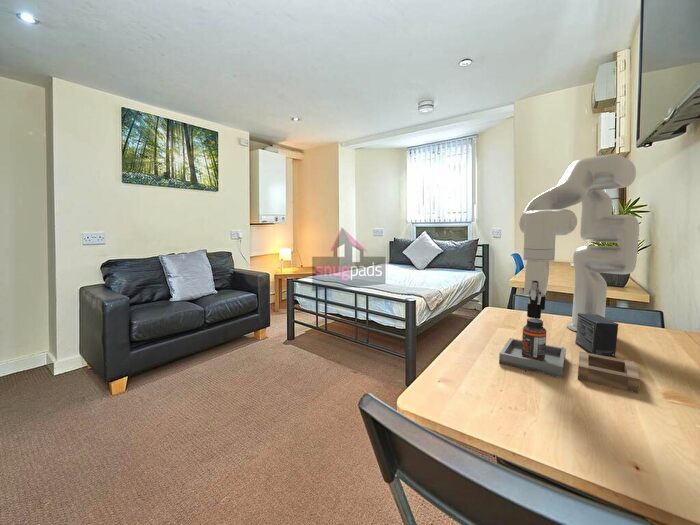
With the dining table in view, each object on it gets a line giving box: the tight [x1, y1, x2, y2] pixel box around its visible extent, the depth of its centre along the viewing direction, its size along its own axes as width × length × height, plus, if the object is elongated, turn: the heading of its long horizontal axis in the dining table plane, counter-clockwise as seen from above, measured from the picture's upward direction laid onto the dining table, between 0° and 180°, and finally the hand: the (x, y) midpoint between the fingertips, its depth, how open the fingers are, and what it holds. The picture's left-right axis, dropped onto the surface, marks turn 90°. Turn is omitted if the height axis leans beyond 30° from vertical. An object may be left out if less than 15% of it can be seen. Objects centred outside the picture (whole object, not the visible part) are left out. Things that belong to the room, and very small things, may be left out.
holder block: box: [577, 351, 641, 394], centre depth 79 cm, size 12×12×4 cm
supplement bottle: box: [521, 317, 547, 361], centre depth 89 cm, size 6×6×11 cm
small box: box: [574, 313, 619, 358], centre depth 96 cm, size 11×6×10 cm, turn 168°
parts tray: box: [498, 337, 567, 379], centre depth 89 cm, size 15×15×3 cm
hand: (536, 313), depth 88 cm, fingers open, 9 cm apart
